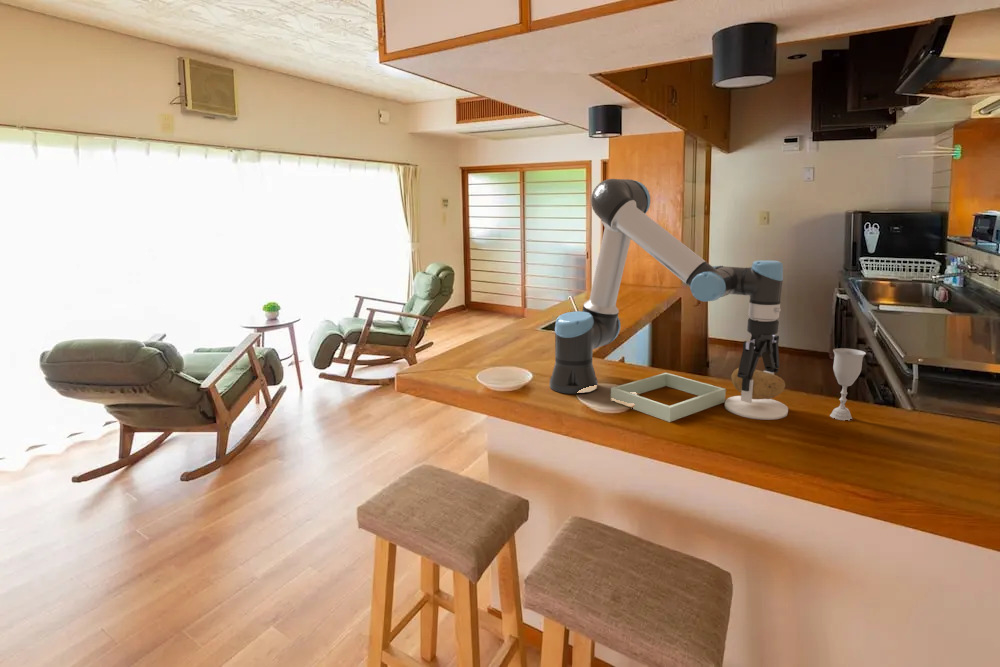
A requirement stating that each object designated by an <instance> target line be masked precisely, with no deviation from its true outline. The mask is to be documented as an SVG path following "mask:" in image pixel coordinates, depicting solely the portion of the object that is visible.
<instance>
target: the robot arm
mask: <svg viewBox="0 0 1000 667" xmlns="http://www.w3.org/2000/svg"><path fill="white" fill-rule="evenodd" d="M590 200H591V202H590V204H591V207H592V210H593V212H594V213H595V215H596V216H597V217H598V218H599V219H600V220H601V221H600V222H601V223H602V225H603V227H604V230H603V234H602V238H601V244H600V248H599V253H598V258H597V264H596V267H595V271H594V277H593V281H592V286H591V289H590V290H591V291H590V295H589V299H588V300H586V301H584V303H583V307H582V311H579V310H578V311H576V310H575V311H571V312H569V311H568V312H565V313H562V314H559V315H558V317H557V318H556V319H555V326H554V333H555V334H554V335H555V336H554V337H555V343H554V346H555V347H554V348H555V350H554V353H555V354H554V355H555V357H554V358H555V359H554V361H555V363H554V366H553V370H552V374H551V376H550V378H549V388H550V389H551V390H552V391H555V392H557V393H562V394H568V395H577V394H576V393H577V392H578V391H579V390H581V389H583V388H586V387H589V386H594V385H597V386H598V381H599V380H598V378H597V376H596V372H595V368H594V365H593V353H594V352H593V351H594V350H595V349H598V348H600V347H603V346H607V345H609V344H611V343H612V342H614V341H615V339H617V337H618V336H619V334H620V332H621V327H622V326H621V321H620V320H621V319H619V313H620V312H619V308H618V307H617V300H618V296H619V292H620V286H621V282H622V277H623V274H624V269H625V267H626V266H625V265H626V261H627V257H628V252H629V248H630V244H631V241H633V242H634V243H635V244H636V245H638V246H639V247H640V248H642V250H644V251H645V252H646V253H647V254H649V255H650V256H652V258H654V259H655V260H656V261H657V262H658V263H660V264H661V265H662V266H664V267H665V268H666V269H667V270H668V271H670V272H671V273H673V275H674V276H676V277H677V278H678V279H679V280H681V281H682V282H683V283H685V284H686V286H688V287H689V288H690V292H691V294H692V296H693V297H694V298H695V299H696V300H698V301H700V302H714V301H717V300H719V299H720V298H722V297H726V296H729V295H737V296H738V295H739V296H749V305H748V315H747V316H748V317H749V318H748V320H747V326H746V327H747V328H746V331H747V332H748V333H749V334H750V335H751V336H750V340H748V341H747V340H744V341H743V343H742V354H741V358H740V362H739V366H738V368H739V370H738V374H737V376H738V377H739V378H742V391H741V393H740V394H741V395H740V396H741V401H744V402H747V403H752V392H753V379H752V376H753V373H754V371H755V370H756V367H757V365H758V362H759V360H760V358H761V359H762V362H763V365H764V366H763V367H764V370H763V372H766V373H770V374H773V375H775V373H778V372H779V368H780V354H779V342H780V341H779V340H780V336H779V335H777V334H778V333H779V320H778V319H779V318H780V312H781V310H782V309H781V298H782V291H783V290H782V289H783V283H784V264H783V263H782V262H781V261H779V260H772V259H771V260H767V259H766V260H763V259H762V260H761V259H759V260H754V261H753V262H752V265H751V267H742V266H741V267H739V266H723V265H711V264H709V263H708V262H707V260H704V259H703V258H702V257H701V256H699V255H698V254H697V253H695V252H694V251H693V250H692V249H691V248H689V247H688V246H686V244H684V243H683V242H682V241H680V240H679V239H678V238H676V236H674V235H673V234H671V233H670V232H669V231H668V230H667V229H665V228H664V227H663V226H661V225H660V224H658V223H657V222H656V221H655V220H653V218H651V217H650V216H648V215H647V214H646V213H648V211H649V208H650V206H651V195H650V191H649V190H648V188H647V187H646V186H645V185H644V184H643V183H642V182H641V181H640V182H639V181H638V180H634V179H628V178H623V179H622V178H621V179H620V178H618V179H617V178H608V179H605V180H603V181H600V182H599V183H598V184H597V185H596V186H595V187H594V188H593V191H592V194H591V199H590Z"/></svg>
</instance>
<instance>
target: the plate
mask: <svg viewBox="0 0 1000 667" xmlns="http://www.w3.org/2000/svg"><path fill="white" fill-rule="evenodd" d="M724 408H725V410H727V411H728V412H729V413H731V414H734V415H737V416H739V417H743V418H747V419H751V420H752V419H753V420H761V421H762V420H763V421H764V420H765V421H767V420H768V421H771V420H779V419H784V418H786V417H787V416H788V414H789V413H788V412H789V407H788V406H787V405H786V404H785V403H783V402H781V401H778V400H775V399H774V398H771V399H752V403H747V402H744V401H741V395H734V396H730V397H728V398H725V402H724Z"/></svg>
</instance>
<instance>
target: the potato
mask: <svg viewBox="0 0 1000 667" xmlns="http://www.w3.org/2000/svg"><path fill="white" fill-rule="evenodd" d="M738 370H739V367H738V368H736V369H734V370H733V372H732V374H731V375H730V376H731V378H730V379H731V382H732V384H733V387H734V388H735V389H736V390H737V391H738V392H739V393H740V394H741V391H742V378H739V377H738V376H737V374H738ZM763 371H764V370H763ZM763 371H762V370H759V369H755V371H754V373H753V376H752V379H753V392H752V399H774V398H776V397H777V396H779V395H780V394H782V393H783V392H784V391H785V387H786V382H785V380H784V379H782V377H780V376H778V375H776V374H774V375H773V374H770V373H766V372H763Z"/></svg>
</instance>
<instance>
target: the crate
mask: <svg viewBox="0 0 1000 667" xmlns="http://www.w3.org/2000/svg"><path fill="white" fill-rule="evenodd" d="M664 387H668V388H672V389H675V390H678V391H681V392H682V391H683V392H685V393H688V394H691V395H696V396H694V397H691V398H689V399H686V400H683V401H680V402H677V403H674V404H671V405H668V404H665V403H662V402H659V401H655V400H652V399H650V398H647V397H644V396H640V394H644V393H647V392H650V391H654V390H657V389H660V388H664ZM630 392H636V393H639V394H637V395H635V394H632V393H630ZM726 392H727V389H726V388H724V387H721V386H715V385H712V384H710V383H706V382H701V381H698V380H694V379H690V378H687V377H684V376H680V375H676V374H673V373H670V372H662V373H659V374H657V375H656V374H655V375H653V376H649V377H645V378H642V379H637V380H635V381H631V382H628V383H624V384H620V385H617V386H613V387H611V388H610V399H611V398H614V399H616V400H620V401H624V402H627V403H634V404H635V406H634V407H633V409H632V410H634V411H638V412H641V413H643V414H646V415H649V416H652V417H655V418H657V419H659V420H660V419H661V420H662V421H665V422H668V423H671V422H673V421H677V420H679V419H681V418H685V417H687V416H690V415H693V414H697V413H698V412H701V411H704V410H707V409H710V408H712V407H715V406H718V405H720V404H723V403H724V404H725V400H726Z"/></svg>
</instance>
